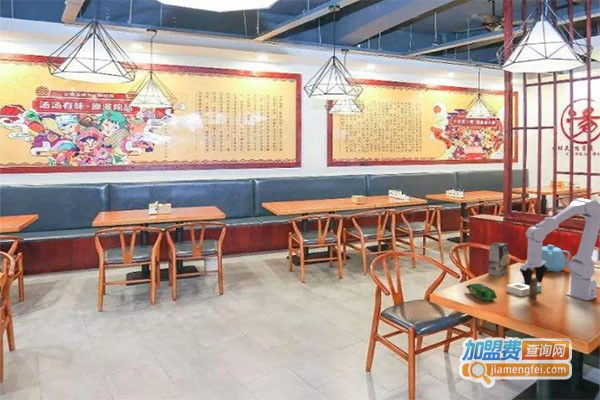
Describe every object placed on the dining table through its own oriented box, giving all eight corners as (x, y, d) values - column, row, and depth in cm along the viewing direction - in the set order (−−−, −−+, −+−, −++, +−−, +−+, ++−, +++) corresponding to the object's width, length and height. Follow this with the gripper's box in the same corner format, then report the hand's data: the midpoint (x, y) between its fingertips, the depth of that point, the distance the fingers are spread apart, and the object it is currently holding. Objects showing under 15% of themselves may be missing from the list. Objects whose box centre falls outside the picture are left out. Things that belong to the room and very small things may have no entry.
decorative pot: (574, 272, 236) (575, 247, 235) (546, 274, 234) (547, 249, 232) (552, 264, 252) (553, 241, 251) (526, 266, 250) (527, 242, 248)
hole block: (541, 291, 210) (541, 285, 209) (521, 296, 204) (522, 290, 203) (525, 286, 217) (526, 280, 216) (506, 291, 211) (506, 285, 210)
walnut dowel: (538, 298, 201) (538, 278, 200) (533, 299, 200) (534, 279, 199) (532, 296, 204) (532, 277, 203) (527, 297, 203) (528, 278, 201)
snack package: (478, 290, 214) (478, 280, 213) (498, 301, 198) (498, 290, 198) (464, 292, 212) (464, 281, 212) (483, 303, 197) (484, 292, 196)
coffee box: (500, 276, 234) (500, 246, 231) (488, 273, 238) (489, 244, 236) (508, 272, 239) (509, 243, 237) (496, 270, 244) (497, 241, 242)
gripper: (537, 249, 206) (535, 278, 208) (515, 254, 200) (514, 283, 201) (551, 253, 200) (550, 282, 202) (529, 257, 193) (528, 287, 195)
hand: (533, 283), depth 201 cm, fingers open, 7 cm apart
